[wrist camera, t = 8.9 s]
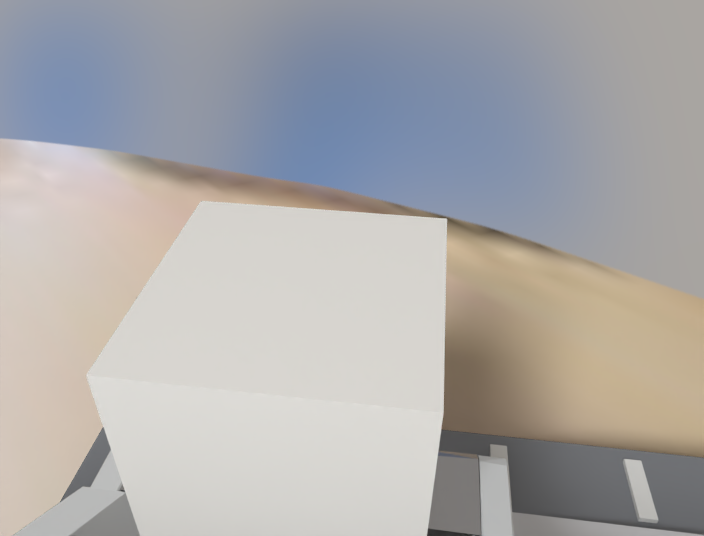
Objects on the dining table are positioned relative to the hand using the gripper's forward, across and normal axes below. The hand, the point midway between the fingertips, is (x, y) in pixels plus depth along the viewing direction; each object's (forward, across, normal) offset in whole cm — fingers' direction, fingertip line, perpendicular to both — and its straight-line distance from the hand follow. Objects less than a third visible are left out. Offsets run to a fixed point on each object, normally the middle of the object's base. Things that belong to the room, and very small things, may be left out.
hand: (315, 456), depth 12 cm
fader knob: (-1, 0, +6) cm, 6 cm away
